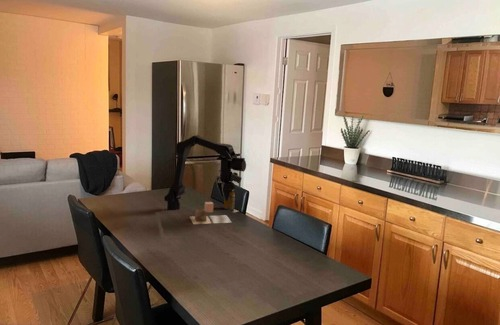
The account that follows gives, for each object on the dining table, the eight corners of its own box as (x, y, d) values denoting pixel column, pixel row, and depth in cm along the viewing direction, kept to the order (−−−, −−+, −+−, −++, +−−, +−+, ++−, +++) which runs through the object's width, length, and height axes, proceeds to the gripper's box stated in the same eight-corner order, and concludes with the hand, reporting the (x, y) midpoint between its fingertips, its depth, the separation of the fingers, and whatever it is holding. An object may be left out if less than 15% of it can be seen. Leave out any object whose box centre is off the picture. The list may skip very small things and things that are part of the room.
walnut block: (196, 221, 200) (196, 212, 199) (194, 218, 205) (195, 209, 204) (206, 221, 202) (206, 211, 201) (204, 218, 206) (204, 208, 205)
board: (193, 226, 196) (193, 224, 196) (189, 218, 207) (189, 216, 207) (231, 224, 202) (232, 222, 202) (226, 217, 214) (226, 215, 213)
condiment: (230, 207, 232) (231, 187, 230) (239, 211, 225) (240, 191, 223) (220, 209, 227) (221, 189, 225) (228, 213, 221) (229, 192, 219)
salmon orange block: (205, 214, 216) (206, 204, 215) (204, 212, 220) (204, 202, 219) (213, 214, 217) (213, 203, 216) (211, 212, 221) (211, 201, 220)
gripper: (245, 172, 197) (244, 202, 200) (235, 165, 214) (234, 193, 217) (224, 172, 194) (222, 203, 196) (215, 165, 211) (214, 193, 214)
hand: (224, 198), depth 206 cm, fingers open, 9 cm apart
